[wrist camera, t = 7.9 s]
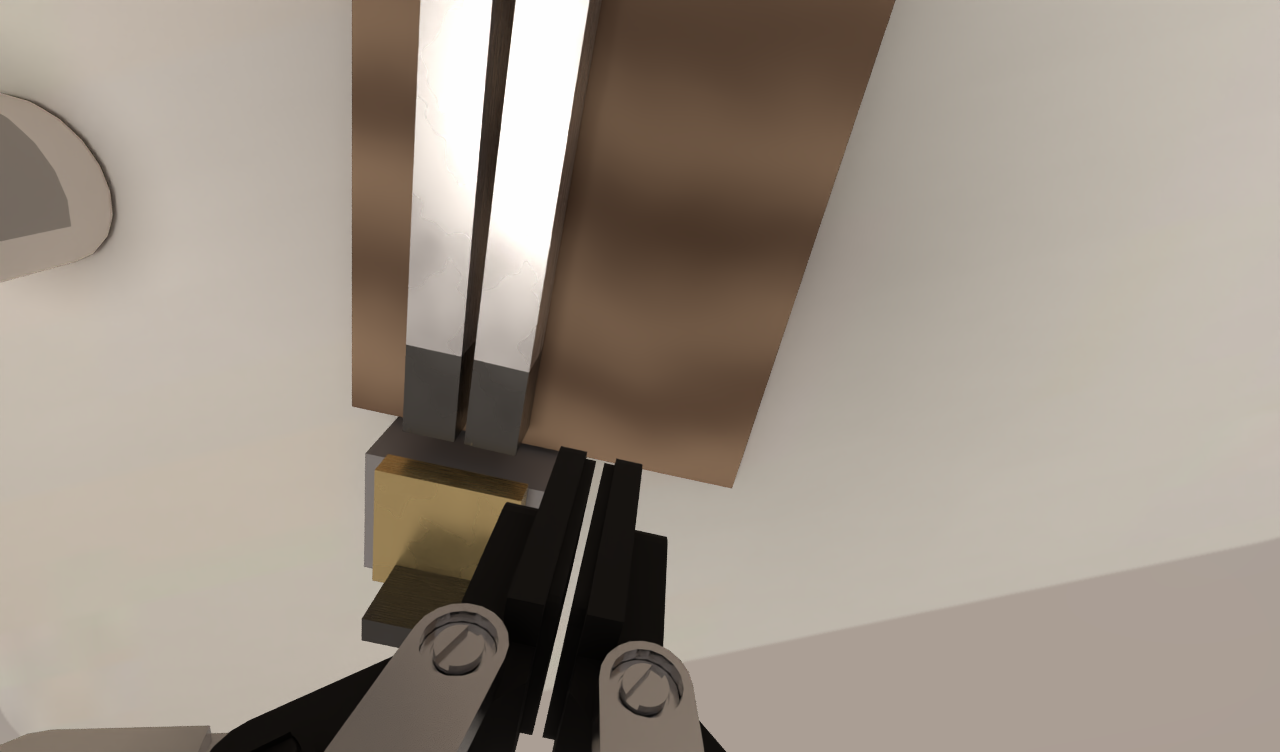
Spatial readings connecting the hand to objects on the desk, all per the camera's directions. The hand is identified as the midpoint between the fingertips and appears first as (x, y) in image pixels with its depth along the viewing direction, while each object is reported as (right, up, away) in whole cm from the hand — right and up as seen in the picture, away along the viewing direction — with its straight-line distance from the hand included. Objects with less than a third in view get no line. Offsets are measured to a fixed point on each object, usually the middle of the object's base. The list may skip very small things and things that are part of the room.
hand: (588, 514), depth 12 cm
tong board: (-1, +10, +12) cm, 16 cm away
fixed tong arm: (-6, +10, +11) cm, 16 cm away
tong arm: (-4, +11, +10) cm, 16 cm away
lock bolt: (-7, -4, +14) cm, 17 cm away
